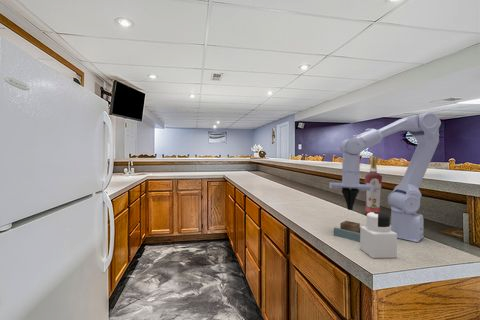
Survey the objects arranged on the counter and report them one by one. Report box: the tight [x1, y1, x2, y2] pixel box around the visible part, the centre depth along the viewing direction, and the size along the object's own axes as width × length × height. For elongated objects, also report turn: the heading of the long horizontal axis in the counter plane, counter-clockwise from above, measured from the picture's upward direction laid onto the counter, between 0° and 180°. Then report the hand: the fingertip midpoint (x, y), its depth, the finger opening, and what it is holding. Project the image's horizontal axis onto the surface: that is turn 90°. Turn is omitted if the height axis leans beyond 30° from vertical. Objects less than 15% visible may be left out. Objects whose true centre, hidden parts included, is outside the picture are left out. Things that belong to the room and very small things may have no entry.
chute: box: [333, 227, 360, 243], centre depth 90 cm, size 10×8×2 cm
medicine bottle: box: [359, 211, 398, 259], centre depth 74 cm, size 7×7×12 cm
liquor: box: [364, 156, 383, 215], centre depth 119 cm, size 7×7×28 cm
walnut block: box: [339, 220, 361, 233], centre depth 90 cm, size 5×4×4 cm
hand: (350, 209), depth 90 cm, fingers closed
